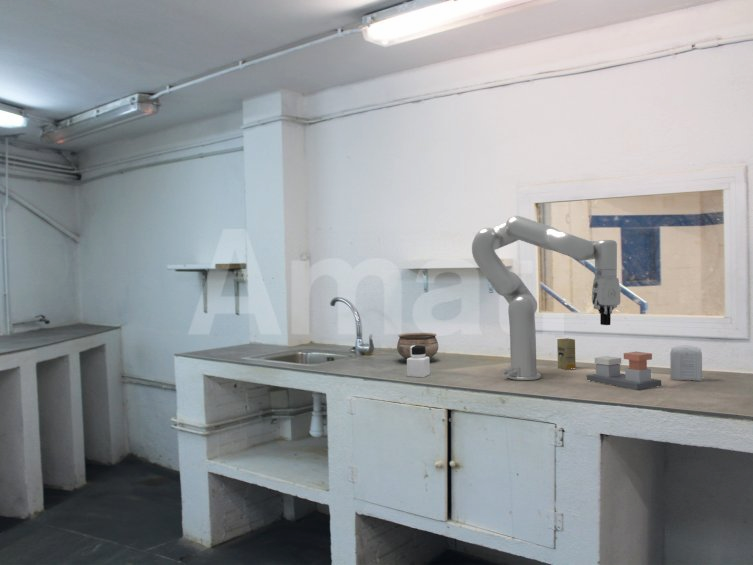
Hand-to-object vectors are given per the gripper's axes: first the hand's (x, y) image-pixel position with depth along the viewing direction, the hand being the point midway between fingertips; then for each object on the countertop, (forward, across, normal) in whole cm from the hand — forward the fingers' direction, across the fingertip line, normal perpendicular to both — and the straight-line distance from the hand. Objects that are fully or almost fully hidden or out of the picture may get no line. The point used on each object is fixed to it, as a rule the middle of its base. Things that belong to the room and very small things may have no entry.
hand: (605, 324), depth 226 cm
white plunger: (+18, +1, -1) cm, 18 cm away
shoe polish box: (+21, +8, +27) cm, 35 cm away
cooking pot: (+23, -29, +82) cm, 90 cm away
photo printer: (+20, +23, -16) cm, 34 cm away
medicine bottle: (+22, -48, +51) cm, 73 cm away
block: (+20, +1, -7) cm, 21 cm away
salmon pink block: (+15, +1, -14) cm, 20 cm away
